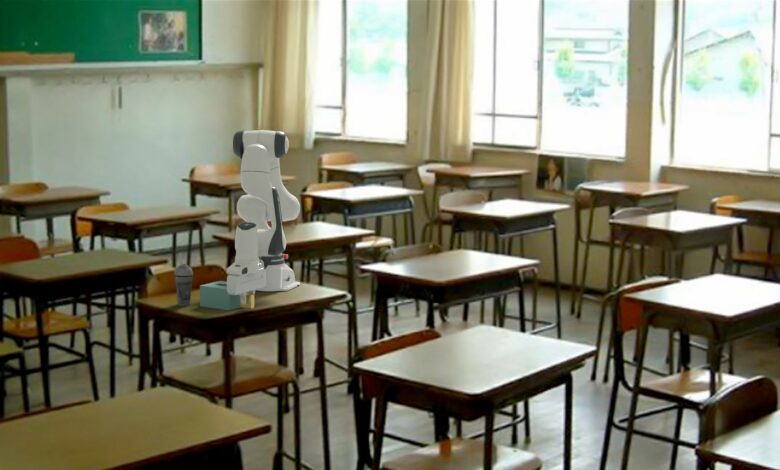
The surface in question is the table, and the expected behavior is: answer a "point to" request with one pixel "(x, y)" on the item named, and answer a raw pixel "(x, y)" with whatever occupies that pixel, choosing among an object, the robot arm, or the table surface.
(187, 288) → the beverage cup
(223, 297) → the box
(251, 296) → the yellow square block
